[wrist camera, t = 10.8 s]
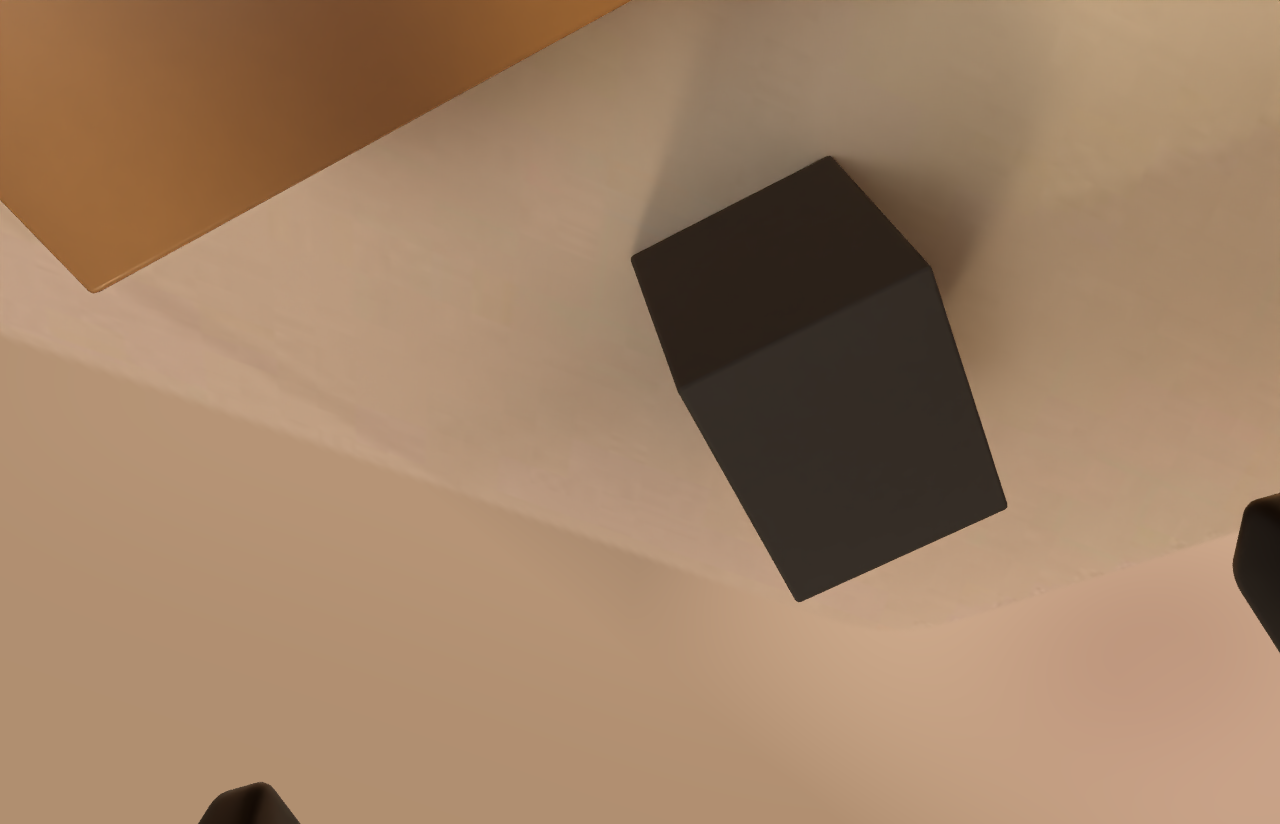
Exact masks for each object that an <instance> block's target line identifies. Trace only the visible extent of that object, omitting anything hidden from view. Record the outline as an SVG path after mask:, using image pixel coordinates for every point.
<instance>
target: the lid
mask: <svg viewBox="0 0 1280 824" xmlns="http://www.w3.org/2000/svg"><path fill="white" fill-rule="evenodd" d="M630 1H631V0H0V200H1V201H2V202H3V203H4V204H5V205H6V206H7V207H8V208H9V209H10V210H11V212H12V213H13V214H14V215H15V216H16V217H17V218H18V219H19V220H20V221H21V222H22V223H23V224H24V225H25V226H26V227H27V228H28V229H29V230H30V231H31V232H32V233H33V234H34V235H35V236H36V237H37V238H38V239H39V240H40V241H41V242H42V244H43V245H44V246H45V247H46V248H47V249H48V250H49V251H50V252H51V253H52V254H53V255H54V256H55V257H56V258H57V259H58V260H59V261H60V262H61V263H62V264H63V265H64V266H65V267H66V268H67V269H68V270H69V271H70V272H71V273H72V274H73V275H74V277H75V278H76V279H77V280H78V281H79V282H80V283H81V284H82V285H83V286H84V287H85V288H86V289H87V290H88V291H90V292H91V293H97V292H100V291H102V290H104V289H106V288H107V287H109V286H111V285H113V284H115V283H117V282H118V281H120V280H122V279H124V278H126V277H128V276H129V275H131V274H133V273H135V272H137V271H138V270H140V269H142V268H144V267H146V266H148V265H149V264H151V263H153V262H155V261H157V260H159V259H160V258H162V257H164V256H166V255H168V254H170V253H171V252H173V251H175V250H177V249H179V248H180V247H182V246H184V245H186V244H188V243H190V242H191V241H193V240H195V239H197V238H199V237H201V236H202V235H204V234H206V233H208V232H210V231H212V230H213V229H215V228H217V227H219V226H221V225H222V224H224V223H226V222H228V221H230V220H232V219H233V218H235V217H237V216H239V215H241V214H243V213H244V212H246V211H248V210H250V209H252V208H254V207H255V206H257V205H259V204H261V203H263V202H264V201H266V200H268V199H270V198H272V197H274V196H275V195H277V194H279V193H281V192H283V191H285V190H286V189H288V188H290V187H292V186H294V185H296V184H297V183H299V182H301V181H303V180H305V179H306V178H308V177H310V176H312V175H314V174H316V173H317V172H319V171H321V170H323V169H325V168H327V167H328V166H330V165H332V164H334V163H336V162H338V161H339V160H341V159H343V158H345V157H347V156H348V155H350V154H352V153H354V152H356V151H358V150H359V149H361V148H363V147H365V146H367V145H369V144H370V143H372V142H374V141H376V140H378V139H380V138H381V137H383V136H385V135H387V134H389V133H390V132H392V131H394V130H396V129H398V128H400V127H401V126H403V125H405V124H407V123H409V122H411V121H412V120H414V119H416V118H418V117H420V116H422V115H423V114H425V113H427V112H429V111H431V110H432V109H434V108H436V107H438V106H440V105H442V104H443V103H445V102H447V101H449V100H451V99H453V98H454V97H456V96H458V95H460V94H462V93H464V92H465V91H467V90H469V89H471V88H473V87H474V86H476V85H478V84H480V83H482V82H484V81H485V80H487V79H489V78H491V77H493V76H495V75H496V74H498V73H500V72H502V71H504V70H505V69H507V68H509V67H511V66H513V65H515V64H516V63H518V62H520V61H522V60H524V59H526V58H527V57H529V56H531V55H533V54H535V53H537V52H538V51H540V50H542V49H544V48H546V47H547V46H549V45H551V44H553V43H555V42H557V41H558V40H560V39H562V38H564V37H566V36H568V35H569V34H571V33H573V32H575V31H577V30H579V29H580V28H582V27H584V26H586V25H588V24H589V23H591V22H593V21H595V20H597V19H599V18H600V17H602V16H604V15H606V14H608V13H610V12H611V11H613V10H615V9H617V8H619V7H621V6H622V5H624V4H626V3H628V2H630Z"/></svg>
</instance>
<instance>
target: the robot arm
mask: <svg viewBox="0 0 1280 824" xmlns="http://www.w3.org/2000/svg"><path fill="white" fill-rule="evenodd" d="M1233 573H1234V577H1235V580H1236V583H1237V585H1238V587H1239V589H1240V591H1241V593H1242V594H1243V596H1244V597H1245V599H1246V600H1247V602H1248V603H1249V605H1250V607H1251V608H1252V610H1253V612H1254V613H1255V615H1256V616H1257V618H1258V619H1259V621H1260V623H1261V624H1262V626H1263V627H1264V629H1265V630H1266V632H1267V633H1268V635H1269V636H1270V638H1271V640H1272V641H1273V643H1274V644H1275V646H1276V648H1277V649H1278V651H1279V652H1280V493H1277V494H1274V495H1270V496H1267V497H1263V498H1260V499H1256V500H1254V501H1252V502H1250V503H1249V505H1248V506H1247V507H1246V508H1245V510H1244V513H1243V517H1242V522H1241V526H1240V531H1239V535H1238V540H1237V544H1236V549H1235V554H1234V558H1233ZM198 824H300V823H299V821H298V820H297V819H296V817H295V816H294V815H293V813H292V812H291V811H290V809H289V808H288V807H287V805H286V804H285V803H284V802H283V800H282V799H281V798H280V796H279V795H278V794H277V792H276V791H275V790H274V789H273V788H272V787H271V786H270V785H269V784H266V783H264V782H258V783H254V784H250V785H247V786H244V787H240V788H236V789H233V790H229V791H226V792H224V793H222V794H220V795H219V796H218V797H217V798H216V799H215V800H214V801H213V802H212V803H211V805H210V806H209V807H208V809H207V811H206V812H205V814H204V815H203V817H202V819H201V820H200V822H199V823H198Z"/></svg>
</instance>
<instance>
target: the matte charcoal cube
mask: <svg viewBox="0 0 1280 824" xmlns="http://www.w3.org/2000/svg"><path fill="white" fill-rule="evenodd" d="M631 262H632V265H633V268H634V271H635V273H636V276H637V279H638V282H639V285H640V287H641V290H642V293H643V296H644V298H645V301H646V304H647V307H648V310H649V312H650V315H651V318H652V321H653V324H654V326H655V329H656V332H657V335H658V338H659V340H660V343H661V346H662V349H663V351H664V354H665V357H666V360H667V363H668V365H669V368H670V371H671V374H672V377H673V379H674V382H675V385H676V388H677V391H678V393H679V394H680V396H681V398H682V400H683V401H684V403H685V405H686V407H687V409H688V410H689V412H690V414H691V416H692V417H693V419H694V421H695V423H696V425H697V426H698V428H699V430H700V432H701V433H702V435H703V437H704V439H705V441H706V442H707V444H708V446H709V448H710V449H711V451H712V453H713V455H714V457H715V458H716V460H717V462H718V464H719V465H720V467H721V469H722V471H723V473H724V474H725V476H726V478H727V480H728V481H729V483H730V485H731V487H732V489H733V490H734V492H735V494H736V496H737V497H738V499H739V501H740V503H741V505H742V506H743V508H744V510H745V512H746V513H747V515H748V517H749V519H750V521H751V522H752V524H753V526H754V528H755V529H756V531H757V533H758V535H759V537H760V538H761V540H762V542H763V544H764V545H765V547H766V549H767V551H768V552H769V554H770V556H771V558H772V560H773V561H774V563H775V565H776V567H777V568H778V570H779V572H780V574H781V576H782V577H783V579H784V581H785V583H786V584H787V586H788V588H789V590H790V592H791V593H792V595H793V597H794V599H795V600H796V601H797V602H802V601H804V600H806V599H808V598H811V597H813V596H815V595H817V594H819V593H822V592H824V591H826V590H828V589H830V588H833V587H835V586H837V585H839V584H841V583H844V582H846V581H848V580H850V579H852V578H855V577H857V576H859V575H861V574H864V573H866V572H868V571H870V570H872V569H875V568H877V567H879V566H881V565H883V564H886V563H888V562H890V561H892V560H894V559H897V558H899V557H901V556H903V555H905V554H908V553H910V552H912V551H914V550H916V549H919V548H921V547H923V546H925V545H928V544H930V543H932V542H934V541H936V540H939V539H941V538H943V537H945V536H947V535H950V534H952V533H954V532H956V531H958V530H961V529H963V528H965V527H967V526H969V525H972V524H974V523H976V522H978V521H980V520H983V519H985V518H987V517H989V516H992V515H994V514H996V513H998V512H1000V511H1003V510H1005V509H1006V508H1007V502H1006V498H1005V495H1004V492H1003V489H1002V486H1001V483H1000V480H999V477H998V474H997V470H996V467H995V464H994V461H993V458H992V455H991V452H990V449H989V445H988V442H987V439H986V436H985V433H984V430H983V427H982V424H981V421H980V417H979V414H978V411H977V408H976V405H975V402H974V399H973V396H972V392H971V389H970V386H969V383H968V380H967V377H966V374H965V371H964V367H963V364H962V361H961V358H960V355H959V352H958V349H957V346H956V343H955V339H954V336H953V333H952V330H951V327H950V324H949V321H948V318H947V314H946V311H945V308H944V305H943V302H942V299H941V296H940V293H939V290H938V286H937V283H936V280H935V277H934V274H933V271H932V268H931V266H930V265H929V264H928V263H927V262H926V261H925V260H924V258H923V257H922V256H921V255H920V254H919V253H918V252H917V251H916V250H915V248H914V247H913V246H912V245H911V244H910V243H909V242H908V241H907V240H906V239H905V237H904V236H903V235H902V234H901V233H900V232H899V231H898V230H897V229H896V227H895V226H894V225H893V224H892V223H891V222H890V221H889V220H888V219H887V217H886V216H885V215H884V214H883V213H882V212H881V211H880V210H879V209H878V208H877V206H876V205H875V204H874V203H873V202H872V201H871V200H870V199H869V198H868V196H867V195H866V194H865V193H864V192H863V191H862V190H861V189H860V188H859V187H858V185H857V184H856V183H855V182H854V181H853V180H852V179H851V178H850V177H849V175H848V174H847V173H846V172H845V171H844V170H843V169H842V168H841V167H840V165H839V164H838V163H837V162H836V161H835V160H834V159H833V158H832V157H831V156H827V157H825V158H823V159H821V160H819V161H817V162H815V163H813V164H811V165H809V166H807V167H805V168H804V169H802V170H800V171H798V172H796V173H794V174H792V175H790V176H788V177H786V178H784V179H782V180H780V181H778V182H776V183H774V184H772V185H770V186H768V187H766V188H765V189H763V190H761V191H759V192H757V193H755V194H753V195H751V196H749V197H747V198H745V199H743V200H741V201H739V202H737V203H735V204H733V205H731V206H729V207H727V208H725V209H724V210H722V211H720V212H718V213H716V214H714V215H712V216H710V217H708V218H706V219H704V220H702V221H700V222H698V223H696V224H694V225H692V226H690V227H688V228H686V229H684V230H683V231H681V232H679V233H677V234H675V235H673V236H671V237H669V238H667V239H665V240H663V241H661V242H659V243H657V244H655V245H653V246H651V247H649V248H647V249H645V250H644V251H642V252H640V253H638V254H636V255H634V256H632V257H631Z"/></svg>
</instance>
